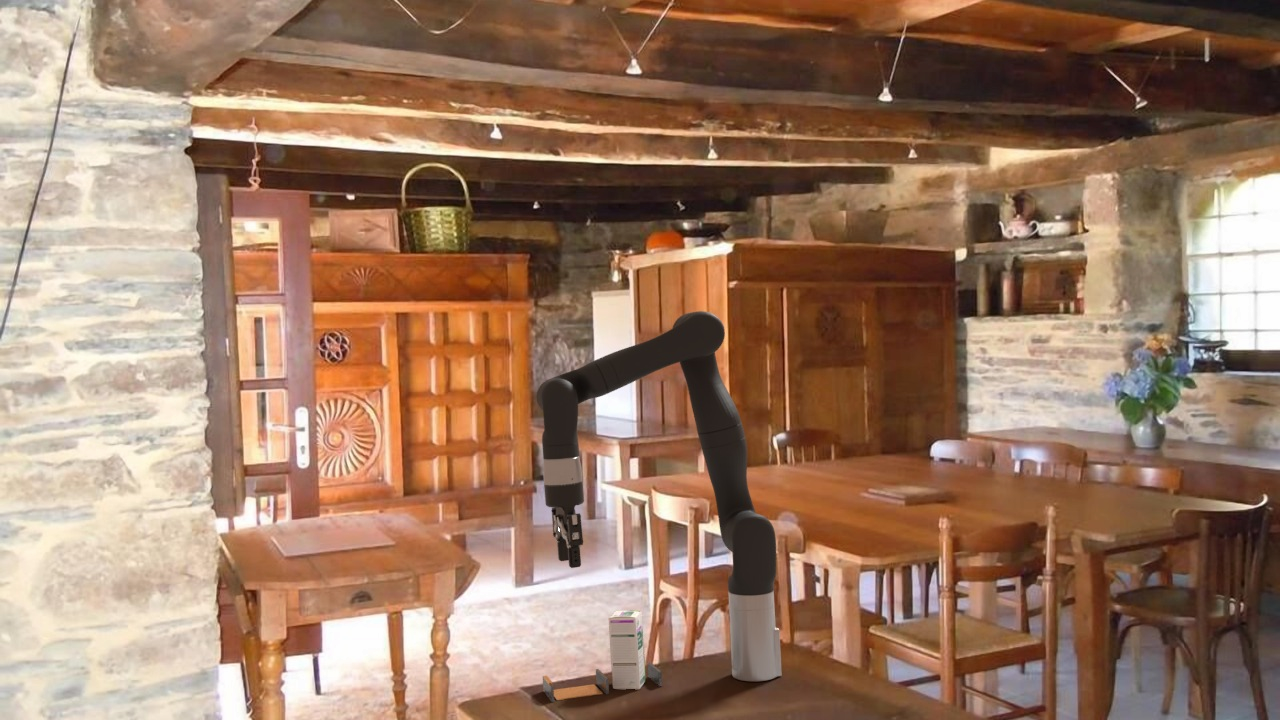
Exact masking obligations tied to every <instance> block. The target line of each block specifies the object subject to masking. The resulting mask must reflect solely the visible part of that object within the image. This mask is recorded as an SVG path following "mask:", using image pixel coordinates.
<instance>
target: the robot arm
mask: <svg viewBox="0 0 1280 720" xmlns="http://www.w3.org/2000/svg"><path fill="white" fill-rule="evenodd" d="M725 331H726V330H725V325H724V324H723V322H722V321H721V319H720V318H719V317H718V316H716V315H715V314H714V313H712V312H709V311H703V310H698V311H692V312H687V313H685V314H682V315H681V316H679V317H677V319H676V320H675V322H674V323H673V325H672V328H671V329H669V330H668V331H666V332H664V333H662V334H660V335H657V336H656V337H653V338H651V339H649V340H646V341H643V342H640V343H638V344H634V345H631V346H627V347H625V348H622V349H619V350H617V351H613V352H611V353H609V354H607V355H604V356H602V357H600V358H597V359H595V360H592V361H590V362H588V363H586V364H585V365H583V366H581V367H579V368H576V369H573V370H571V371H568V372H564V373H561V374H559V375H556V376H554V377H551V378H549V379H547V380H545V381H544V382H542V383H541V385H539V386H538V389H537V392H536V395H535V398H536V403H537V405H538V407H539V408H540V409H541V410H542V413H543V426H544V428H543V433H542V437H541V441H542V442H541V444H542V455H543V457H542V459H543V460H542V461H543V464H542V465H543V467H542V472H543V473H542V475H543V485H544V486H543V489H544V498H545V499H544V501H545V506H546V507H548V508H551V518H552V519H551V520H552V522H551V523H552V536H553V538H554V539H555V541H556V545H557V558H558V560H559V561H560V562H566V561H568V566H569V568H571V569H574V568H580V567H581V565H582V560H581V558H582V557H581V547H582V546H583V545H584V538H583V537H584V536H583V528H582V515H581V513H578V512H577V513H576V509H575V508H576V506H580V505H582V504H583V503H584V502H585V495H584V482H583V470H582V469H583V468H582V463H581V459H580V448H579V438H578V423H579V421H578V420H579V417H578V416H579V404H582V403H583V402H586V401H588V400H590V399H597V398H600V397H603V396H605V395H608V394H610V393H612V392H614V391H617V390H619V389H621V388H623V387H625V386H628V385H629V384H632V383H634V382H636V381H639V380H640V379H643V378H645V377H646V376H648V375H650V374H653V373H655V372H658V371H659V370H661V369H664V368H667V367H669V366H672V365H676V364H678V363H679V365H680V367H681V370H682V374H683V376H684V379H685V383H686V386H687V390H688V395H689V400H690V404H691V409H692V414H693V418H694V422H695V423H694V424H695V427H696V431H697V436H698V439H699V445H700V449H701V452H702V454H703V458H704V461H705V465H706V469H707V472H708V476H709V479H710V483H711V485H712V488H713V492H714V493H713V494H714V499H715V503H716V510H717V516H718V524H719V529H720V536H721V539H722V542H723V544H724V546H725V547H726V548H727V549H728V550H729V551H730V552H732V573H731V574H730V576H729V577H728V580H727V587H728V589H727V590H728V610H729V611H728V612H729V613H728V614H729V632H730V636H729V637H730V654H731V658H730V659H731V672H732V673H731V675H732V677H733V678H734V679H736V680H739V681H744V682H764V681H769V680H773V679H775V678H777V677H782V656H781V655H782V654H781V636H780V635H781V634H780V632H781V631H780V628H778V627H776V615H775V613H776V612H775V611H776V610H775V594H774V593H775V591H774V589H775V587H774V583H775V579H776V576H777V540H776V539H777V538H776V533H775V528H774V526H773V523H772V522H771V521H770V519H768V518H767V517H766V516H764V515H762V514H759V513H757V512H756V509H755V507H754V504H753V503H754V502H753V500H752V498H751V494H750V491H749V485H748V478H747V475H748V471H747V469H748V445H747V444H748V443H747V439H746V434H745V430H744V427H743V422H742V420H741V415H740V413H739V411H738V409H737V406H736V404H735V402H734V400H733V398H732V396H731V394H730V393H729V391H728V389H727V387H726V385H725V383H724V382H723V379H722V377H721V374H720V370H719V366H718V361H717V357H716V352H717V351H718V350H719V349H720V348H721V346H722V345H723V342H724V340H725V334H726V333H725ZM573 538H574V539H573Z"/></svg>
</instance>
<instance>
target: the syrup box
mask: <svg viewBox="0 0 1280 720" xmlns="http://www.w3.org/2000/svg"><path fill="white" fill-rule="evenodd" d="M642 614H643V613H642V611H641V610H633V609H630V610H629V609H624V610H616V611H614V612H613V613H612V615H610V616H609V617H608V631H609V633H608V634H609V649H610V666H611V681H612V689H615V690H626V689H635V690H640V689H641V688H642V687H643V685H644V683H646V681H647V678H646V662H645V661H646V660H645V646H644V631H643V616H642Z"/></svg>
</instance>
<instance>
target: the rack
mask: <svg viewBox="0 0 1280 720" xmlns="http://www.w3.org/2000/svg"><path fill="white" fill-rule="evenodd" d="M646 664H647V678H649V679H650V678H651V679H652V680H653V681H654V684H655V685H657V684H658V685H659V686H662V687H663V677H662V670H660V669H659V668H658V667H657V666H655V665H654V664H653V663H651V662H650V661H647V663H646ZM595 679H596V680H595V682H596V685H597V686H598V687H597V686H596V685H595V684H594V683H593V684H586V685H580V686H571V687H565V688H556V689H555V688H554V685H553V681H552V680H551V679H550V677H549V676H548V675H543V676H542V691H543V693H544V695H546V697H547V698H548V699H549V701H550V702H551V703H554V702H555V700H556V701H561V700H562V701H563V700H568V699H576V698H583V697H591V696H597V695H603V692H604V693H605V694H606V695H609V694H610V690H609V687H610V686H609V678H608V677H607V676H606V675H605V674H604V673H603V672H602V671H601V670H600V669H599V668H596V669H595ZM651 679H650V680H651ZM652 680H651V681H652ZM653 681H652V682H653ZM658 685H657V686H658ZM659 686H658V687H659ZM599 688H600V689H599Z"/></svg>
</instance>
